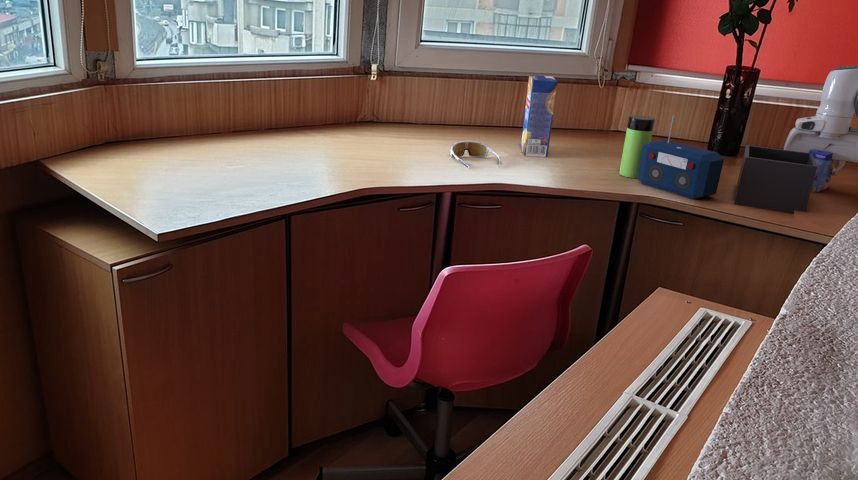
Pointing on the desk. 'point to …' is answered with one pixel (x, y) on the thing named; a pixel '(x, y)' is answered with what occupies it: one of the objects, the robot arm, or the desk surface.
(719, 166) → the radio
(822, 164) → the ink cartridge box
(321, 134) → the desk surface
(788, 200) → the dark grey storage bin
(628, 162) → the tumbler
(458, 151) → the sunglasses
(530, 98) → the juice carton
